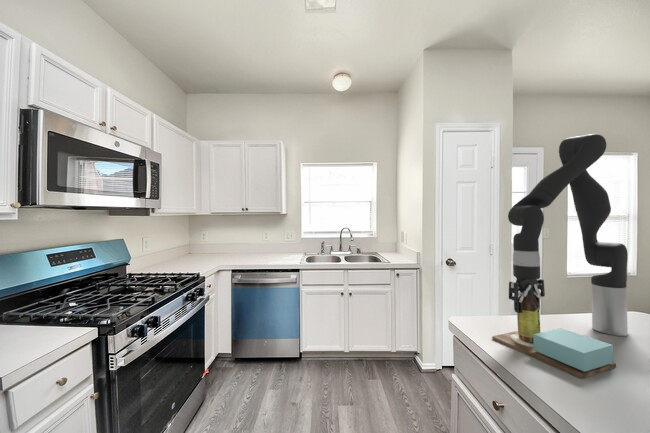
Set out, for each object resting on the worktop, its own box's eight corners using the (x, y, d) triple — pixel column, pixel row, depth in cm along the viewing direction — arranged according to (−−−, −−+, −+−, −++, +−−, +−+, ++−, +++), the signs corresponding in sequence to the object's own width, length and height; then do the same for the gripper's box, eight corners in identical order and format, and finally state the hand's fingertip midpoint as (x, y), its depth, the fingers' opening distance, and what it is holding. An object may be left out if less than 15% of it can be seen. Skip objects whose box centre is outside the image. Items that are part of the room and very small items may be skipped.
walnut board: (523, 332, 103) (523, 328, 103) (615, 367, 79) (615, 362, 79) (492, 339, 98) (492, 335, 98) (580, 378, 73) (580, 373, 73)
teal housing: (560, 343, 90) (560, 328, 90) (613, 362, 78) (612, 345, 78) (533, 350, 86) (533, 334, 86) (584, 371, 74) (584, 353, 74)
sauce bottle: (544, 344, 90) (543, 284, 90) (523, 343, 91) (521, 283, 92) (534, 336, 96) (532, 279, 97) (514, 335, 98) (512, 279, 98)
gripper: (522, 267, 88) (523, 317, 88) (552, 263, 93) (553, 311, 93) (500, 263, 95) (501, 310, 95) (529, 260, 100) (530, 305, 100)
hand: (527, 310), depth 94 cm, fingers open, 8 cm apart
